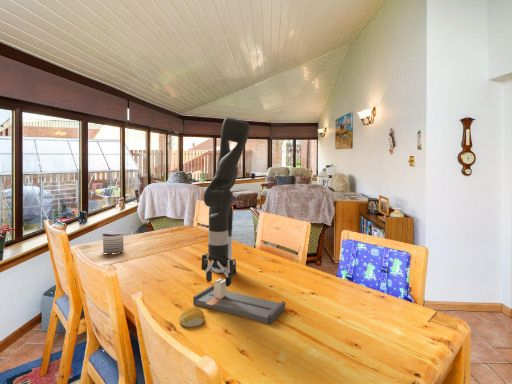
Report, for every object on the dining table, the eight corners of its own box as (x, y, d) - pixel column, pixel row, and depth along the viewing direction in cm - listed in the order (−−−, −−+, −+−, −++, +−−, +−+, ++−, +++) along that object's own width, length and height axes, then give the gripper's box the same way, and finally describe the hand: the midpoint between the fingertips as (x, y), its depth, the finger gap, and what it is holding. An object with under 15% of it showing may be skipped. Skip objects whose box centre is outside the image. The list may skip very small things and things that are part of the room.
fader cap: (214, 297, 121) (213, 281, 121) (220, 293, 125) (220, 278, 124) (220, 299, 120) (220, 283, 119) (226, 294, 124) (226, 279, 123)
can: (100, 251, 189) (99, 231, 187) (120, 248, 196) (119, 228, 195) (106, 256, 180) (105, 235, 179) (127, 252, 188) (126, 232, 187)
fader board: (191, 305, 120) (191, 297, 120) (212, 292, 132) (212, 285, 131) (269, 326, 105) (269, 317, 105) (285, 309, 117) (285, 301, 117)
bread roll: (201, 313, 115) (201, 302, 114) (206, 325, 106) (206, 313, 106) (177, 316, 112) (177, 305, 111) (180, 329, 103) (180, 317, 103)
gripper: (240, 242, 120) (239, 284, 122) (209, 237, 127) (209, 276, 129) (228, 247, 114) (228, 291, 116) (196, 241, 120) (197, 283, 122)
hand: (218, 283), depth 122 cm, fingers open, 8 cm apart
